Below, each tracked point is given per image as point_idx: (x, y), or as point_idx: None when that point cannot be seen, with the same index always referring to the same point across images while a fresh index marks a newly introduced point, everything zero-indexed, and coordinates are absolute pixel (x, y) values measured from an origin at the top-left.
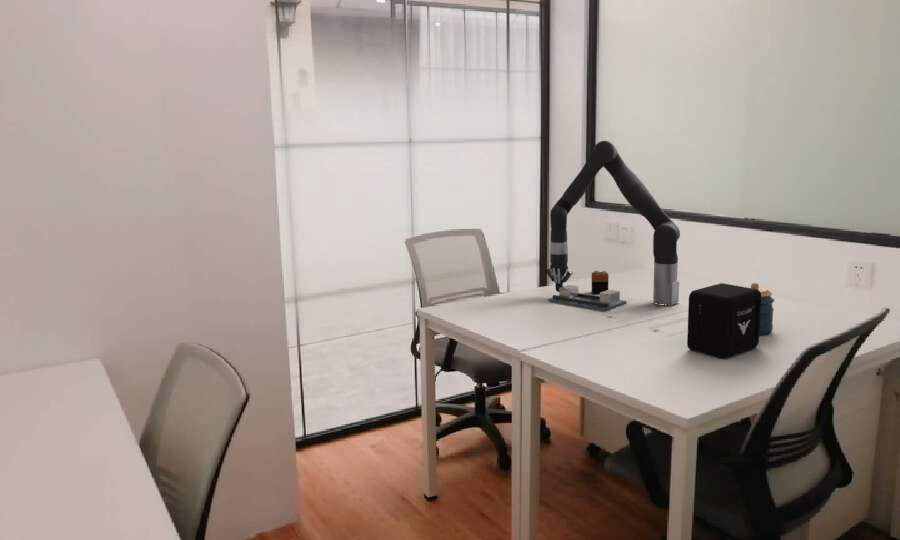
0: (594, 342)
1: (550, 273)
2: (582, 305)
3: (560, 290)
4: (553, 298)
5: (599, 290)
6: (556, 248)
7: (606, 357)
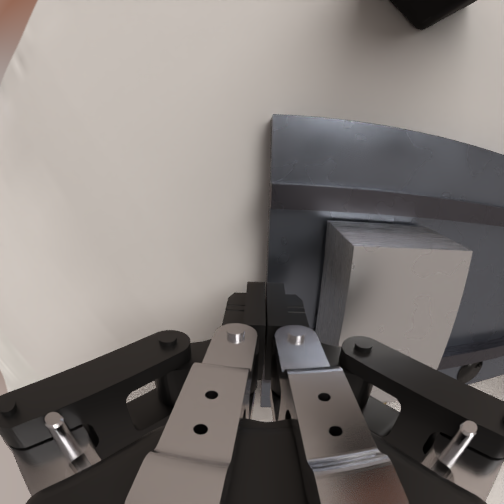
0: None
1: (107, 451)
2: (479, 379)
3: None
4: None
5: (457, 10)
6: None
7: (497, 494)
